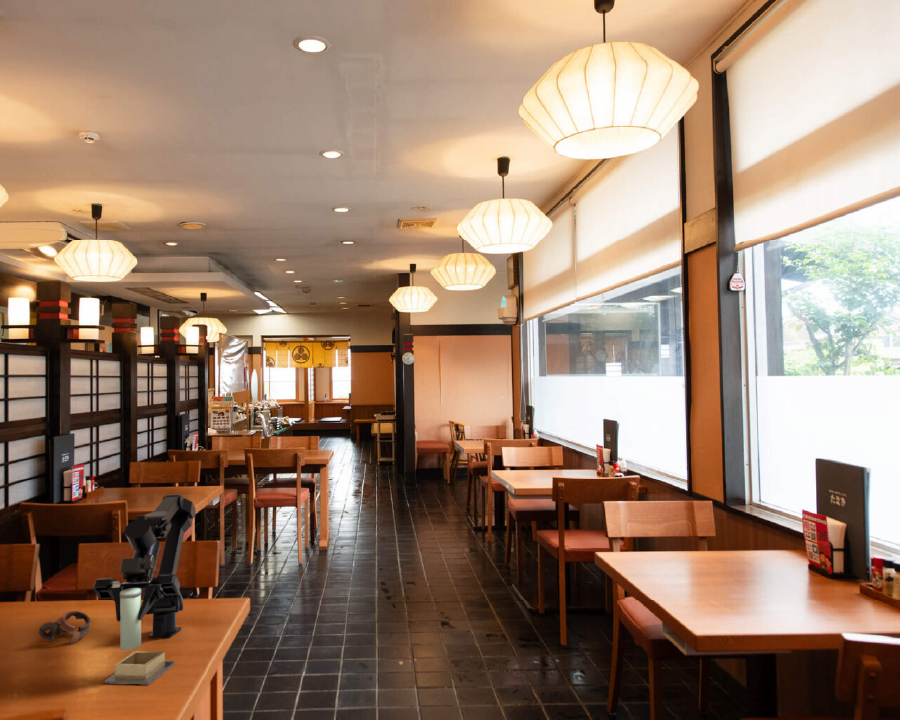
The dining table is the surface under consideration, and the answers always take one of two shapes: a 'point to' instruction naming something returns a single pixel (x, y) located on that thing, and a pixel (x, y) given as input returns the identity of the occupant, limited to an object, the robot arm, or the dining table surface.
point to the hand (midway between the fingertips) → (128, 620)
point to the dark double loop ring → (65, 627)
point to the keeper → (140, 668)
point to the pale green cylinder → (130, 618)
